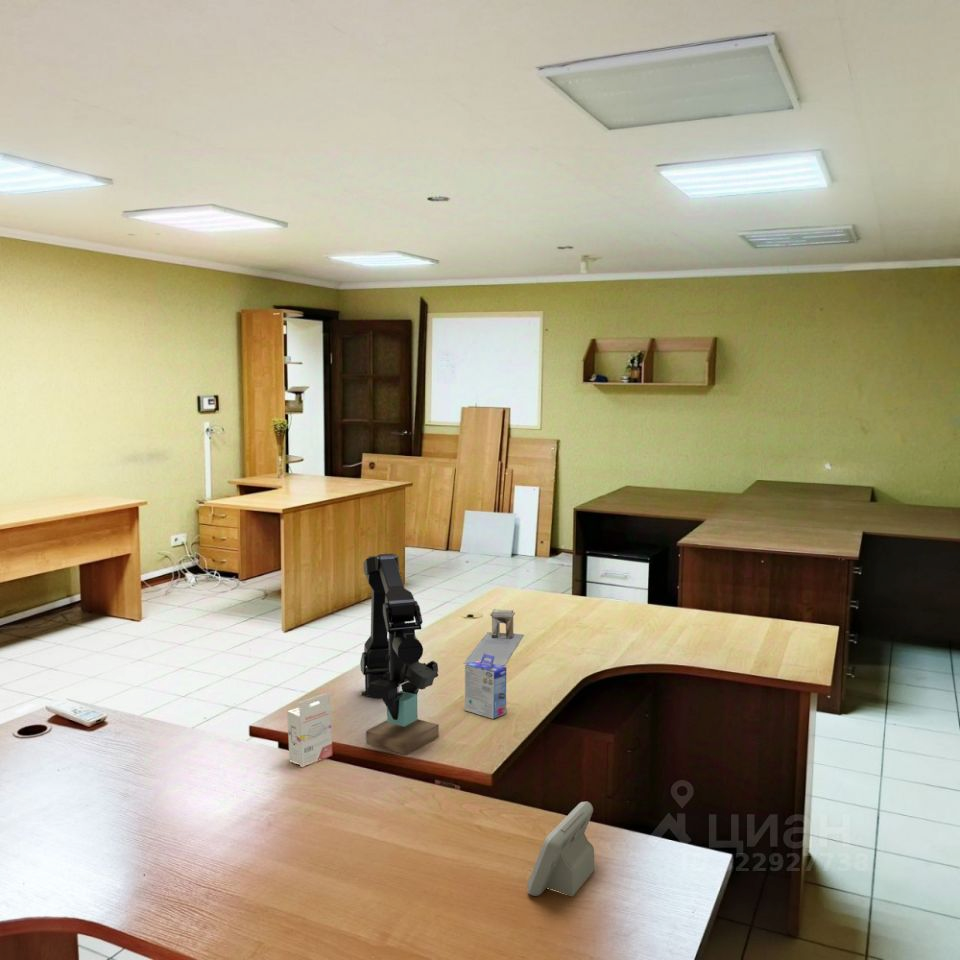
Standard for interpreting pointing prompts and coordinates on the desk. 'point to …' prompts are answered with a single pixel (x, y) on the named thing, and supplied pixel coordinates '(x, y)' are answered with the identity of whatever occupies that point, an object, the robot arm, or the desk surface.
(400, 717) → the teal block
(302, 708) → the ink cartridge box
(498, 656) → the grey sheet with arch
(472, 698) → the ink cartridge box
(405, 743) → the walnut plinth
